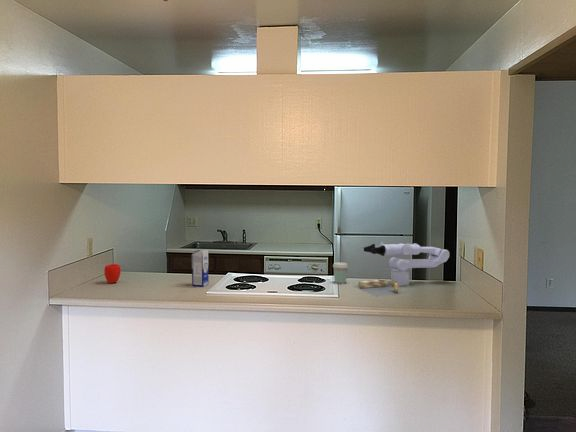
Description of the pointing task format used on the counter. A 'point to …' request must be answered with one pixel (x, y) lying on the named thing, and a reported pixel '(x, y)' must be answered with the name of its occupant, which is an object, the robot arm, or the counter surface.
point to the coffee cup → (340, 272)
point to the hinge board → (380, 291)
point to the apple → (112, 273)
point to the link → (372, 283)
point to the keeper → (394, 286)
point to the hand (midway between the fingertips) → (367, 250)
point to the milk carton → (200, 268)
